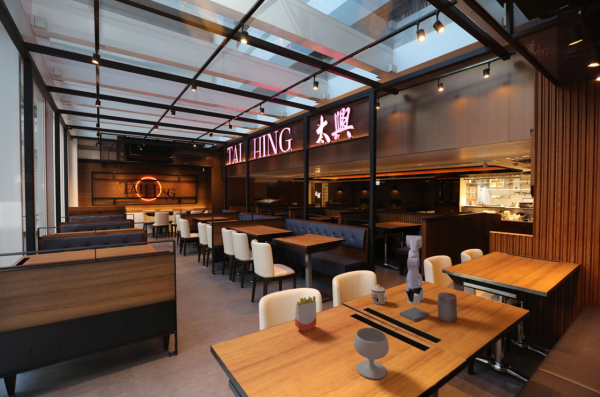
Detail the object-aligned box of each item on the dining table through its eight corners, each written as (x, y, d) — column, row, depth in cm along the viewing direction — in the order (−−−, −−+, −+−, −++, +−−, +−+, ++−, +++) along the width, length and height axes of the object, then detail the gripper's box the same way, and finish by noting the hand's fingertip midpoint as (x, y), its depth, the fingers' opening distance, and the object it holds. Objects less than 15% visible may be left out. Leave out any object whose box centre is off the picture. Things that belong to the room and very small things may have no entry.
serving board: (414, 309, 172) (414, 307, 172) (429, 315, 163) (429, 313, 163) (399, 315, 165) (399, 312, 165) (414, 321, 156) (414, 319, 156)
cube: (412, 300, 169) (411, 292, 168) (419, 303, 165) (419, 294, 164) (407, 302, 166) (407, 294, 166) (415, 305, 162) (414, 296, 162)
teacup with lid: (368, 301, 186) (368, 284, 186) (378, 298, 190) (378, 282, 190) (380, 307, 176) (380, 289, 175) (391, 305, 179) (391, 287, 179)
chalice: (382, 359, 122) (382, 325, 121) (394, 381, 108) (394, 343, 107) (351, 360, 121) (350, 326, 121) (358, 382, 107) (358, 344, 107)
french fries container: (295, 329, 149) (294, 296, 149) (312, 324, 154) (311, 293, 154) (298, 333, 145) (298, 299, 145) (316, 328, 150) (316, 295, 150)
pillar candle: (452, 315, 164) (451, 290, 163) (460, 322, 154) (459, 296, 154) (435, 314, 165) (434, 289, 164) (442, 322, 155) (441, 296, 155)
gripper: (414, 274, 172) (414, 295, 173) (400, 278, 164) (400, 301, 164) (424, 276, 167) (424, 299, 167) (411, 281, 158) (411, 305, 158)
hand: (413, 300), depth 165 cm, fingers closed on cube, 5 cm apart
